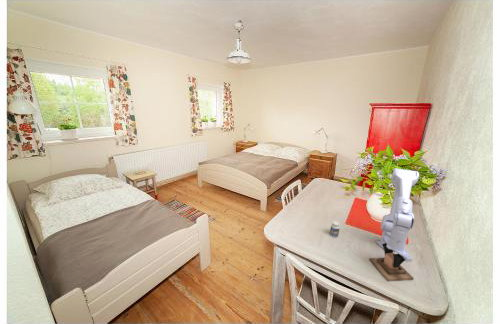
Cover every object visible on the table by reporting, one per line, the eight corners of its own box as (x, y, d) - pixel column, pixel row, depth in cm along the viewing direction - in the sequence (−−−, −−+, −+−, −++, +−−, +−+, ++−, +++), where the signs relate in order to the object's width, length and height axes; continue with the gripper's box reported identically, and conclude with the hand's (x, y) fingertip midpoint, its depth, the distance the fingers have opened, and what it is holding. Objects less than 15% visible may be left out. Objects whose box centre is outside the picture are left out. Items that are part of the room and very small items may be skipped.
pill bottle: (329, 236, 112) (331, 224, 110) (329, 231, 117) (331, 219, 114) (338, 238, 111) (340, 225, 108) (338, 233, 115) (340, 221, 113)
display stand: (391, 259, 96) (393, 254, 95) (412, 279, 84) (414, 274, 84) (369, 260, 95) (370, 255, 94) (387, 281, 84) (388, 276, 83)
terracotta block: (391, 263, 91) (393, 252, 90) (397, 269, 88) (400, 259, 86) (383, 263, 91) (385, 253, 89) (389, 270, 87) (392, 259, 86)
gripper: (378, 228, 92) (372, 251, 95) (403, 249, 78) (396, 276, 81) (392, 227, 92) (386, 251, 96) (419, 249, 78) (411, 275, 82)
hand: (391, 262), depth 89 cm, fingers open, 4 cm apart
